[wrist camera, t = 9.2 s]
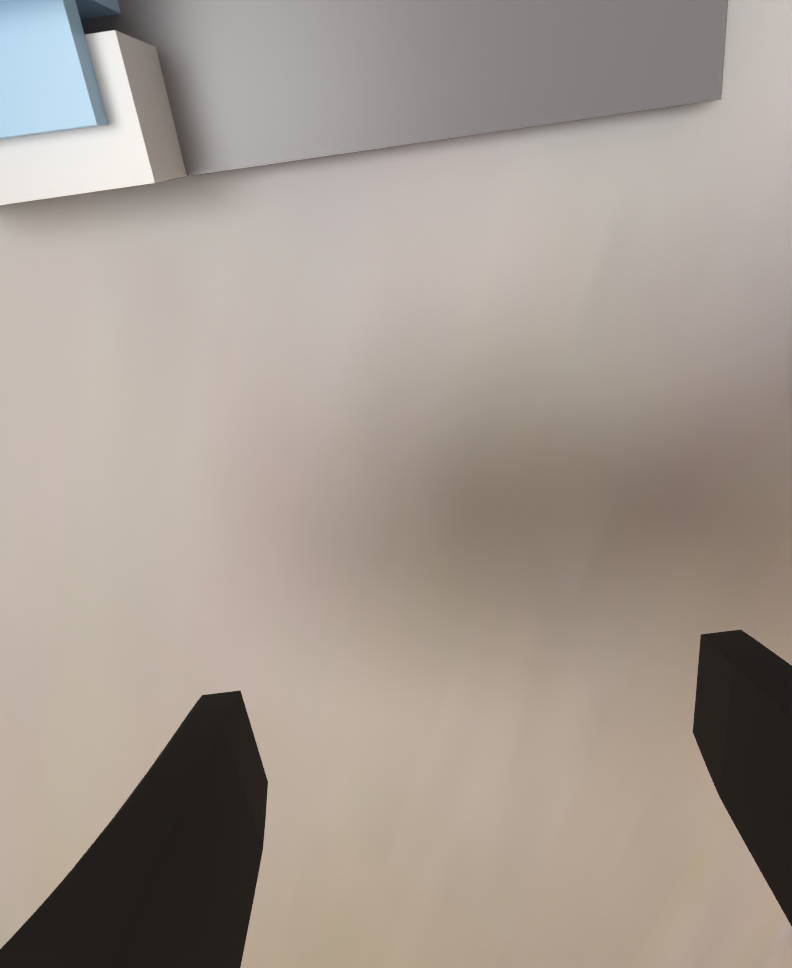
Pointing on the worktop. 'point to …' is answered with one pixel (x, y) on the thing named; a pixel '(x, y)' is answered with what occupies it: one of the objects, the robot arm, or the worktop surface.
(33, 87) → the block
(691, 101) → the plate
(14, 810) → the worktop surface
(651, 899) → the worktop surface
